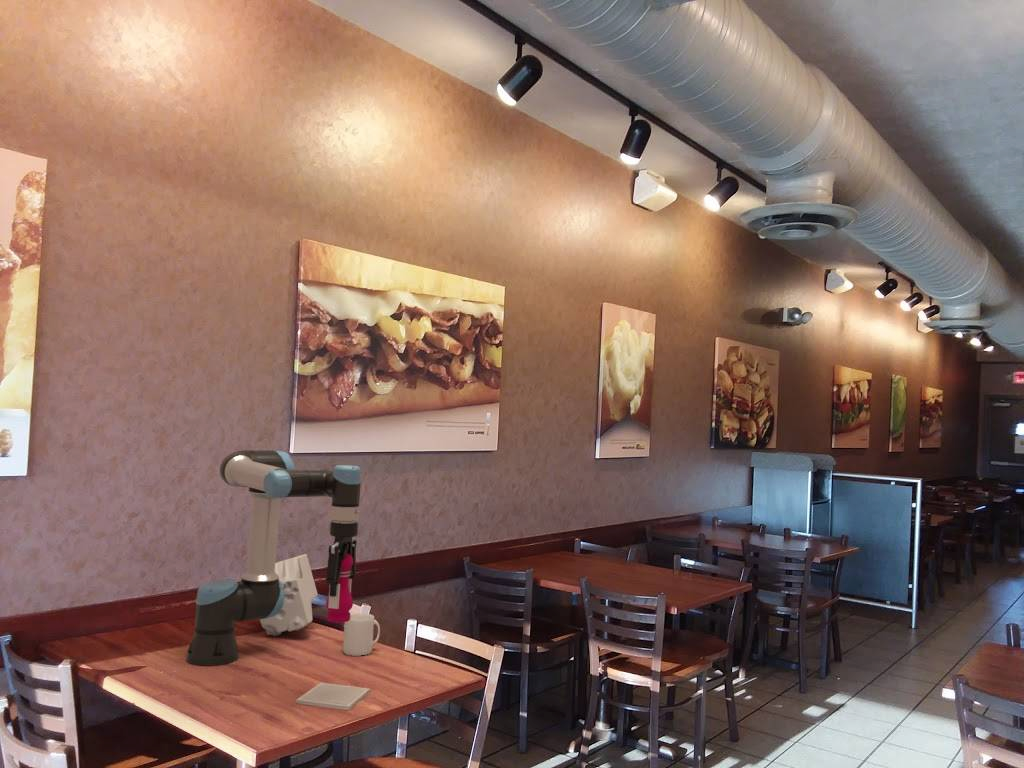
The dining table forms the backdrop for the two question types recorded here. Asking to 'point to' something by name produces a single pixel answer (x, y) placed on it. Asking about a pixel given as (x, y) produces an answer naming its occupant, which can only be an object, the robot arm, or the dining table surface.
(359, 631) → the mug
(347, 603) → the pepper mill
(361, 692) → the plate
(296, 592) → the white sculpture
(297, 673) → the dining table surface
